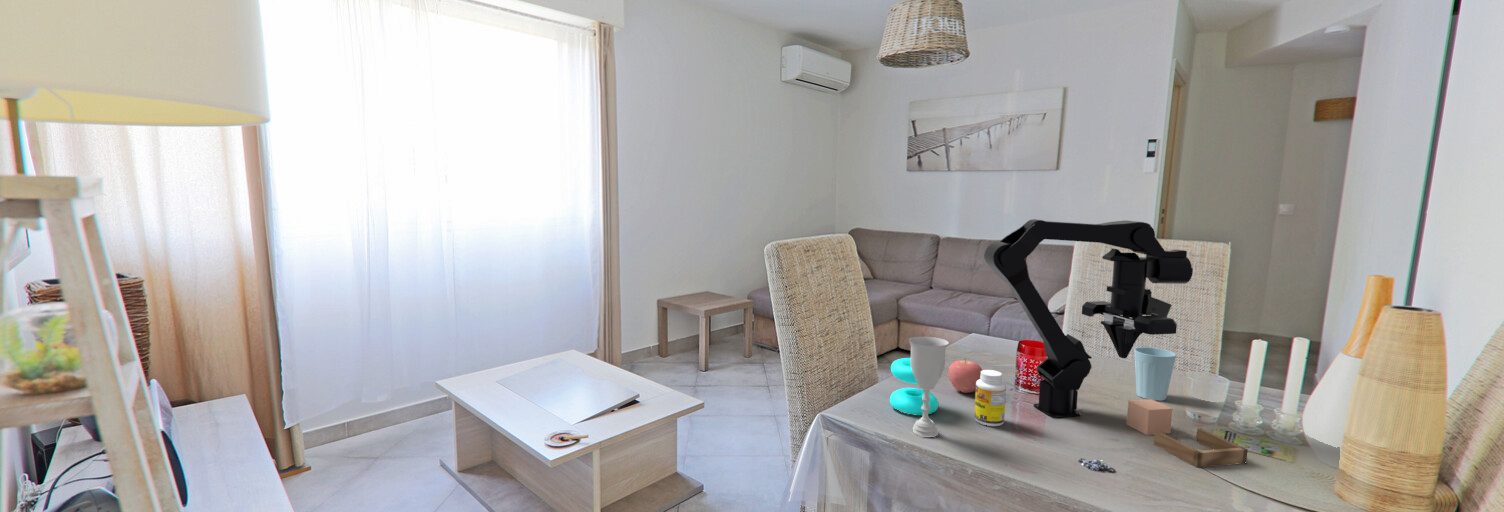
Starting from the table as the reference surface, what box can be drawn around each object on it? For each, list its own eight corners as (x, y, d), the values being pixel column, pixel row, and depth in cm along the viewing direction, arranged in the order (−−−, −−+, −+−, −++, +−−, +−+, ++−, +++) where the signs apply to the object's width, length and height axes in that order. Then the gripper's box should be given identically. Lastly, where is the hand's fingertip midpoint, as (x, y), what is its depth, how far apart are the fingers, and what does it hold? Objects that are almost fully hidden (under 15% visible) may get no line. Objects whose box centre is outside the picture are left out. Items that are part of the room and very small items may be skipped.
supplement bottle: (969, 416, 119) (971, 368, 118) (996, 416, 119) (998, 368, 118) (981, 427, 113) (983, 377, 112) (1009, 427, 114) (1011, 376, 112)
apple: (948, 395, 131) (949, 361, 130) (947, 384, 138) (948, 352, 137) (983, 398, 129) (985, 364, 128) (980, 388, 136) (982, 354, 135)
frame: (1196, 467, 97) (1198, 453, 97) (1153, 444, 106) (1154, 431, 106) (1246, 463, 99) (1247, 449, 98) (1199, 441, 107) (1200, 428, 107)
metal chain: (1075, 457, 103) (1075, 447, 103) (1129, 467, 98) (1128, 456, 98) (1067, 471, 98) (1067, 461, 98) (1123, 483, 93) (1122, 471, 92)
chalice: (945, 428, 113) (948, 338, 111) (944, 442, 107) (948, 347, 105) (906, 423, 115) (909, 335, 113) (903, 436, 109) (906, 344, 107)
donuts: (881, 361, 123) (910, 353, 129) (879, 406, 124) (909, 396, 130) (920, 373, 115) (949, 364, 121) (918, 421, 116) (947, 410, 122)
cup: (1141, 388, 136) (1145, 345, 134) (1178, 398, 129) (1183, 353, 128) (1123, 394, 132) (1127, 349, 131) (1161, 405, 125) (1165, 358, 124)
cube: (1146, 435, 110) (1149, 410, 110) (1126, 424, 115) (1128, 400, 114) (1170, 433, 111) (1172, 408, 110) (1148, 423, 116) (1150, 399, 115)
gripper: (1205, 289, 109) (1198, 370, 111) (1128, 275, 127) (1122, 344, 129) (1153, 291, 108) (1146, 372, 109) (1082, 276, 126) (1077, 346, 128)
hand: (1122, 357), depth 119 cm, fingers closed
